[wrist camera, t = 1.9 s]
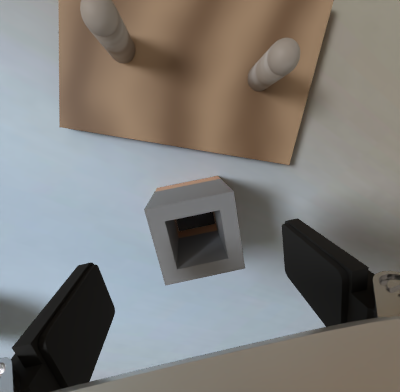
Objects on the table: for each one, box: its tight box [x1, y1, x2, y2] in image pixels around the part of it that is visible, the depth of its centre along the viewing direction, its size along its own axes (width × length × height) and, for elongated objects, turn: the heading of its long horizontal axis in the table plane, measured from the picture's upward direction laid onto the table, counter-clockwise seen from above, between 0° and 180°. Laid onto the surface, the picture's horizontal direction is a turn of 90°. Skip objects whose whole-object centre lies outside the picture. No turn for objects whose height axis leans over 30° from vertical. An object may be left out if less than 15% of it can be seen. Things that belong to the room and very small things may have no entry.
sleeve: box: [144, 176, 245, 285], centre depth 17 cm, size 6×6×6 cm
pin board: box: [59, 0, 334, 165], centre depth 14 cm, size 20×13×6 cm, turn 81°
